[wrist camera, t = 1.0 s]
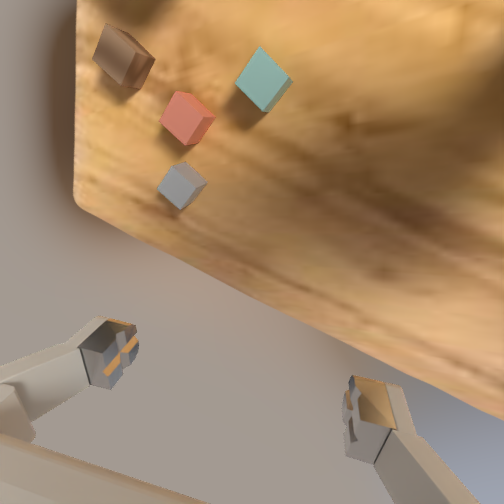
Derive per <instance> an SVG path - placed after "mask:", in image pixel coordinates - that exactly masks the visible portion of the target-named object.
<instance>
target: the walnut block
mask: <svg viewBox="0 0 504 504" xmlns="http://www.w3.org/2000/svg"><path fill="white" fill-rule="evenodd" d="M92 60H93V61H94V62H96V63H97V64H98V65H99V66H100V67H101V68H102V69H103V70H104V71H105V72H106V73H107V74H108V75H110V76H111V77H112V78H113V79H114V80H115V81H116V82H117V83H118V84H119V85H120V86H125V87H131V88H138V89H141V88H142V86H143V84H144V82H145V80H146V78H147V76H148V74H149V71H150V69H151V67H152V65H153V63H154V61H155V58H154V57H153V56H152V55H151V54H150V53H149V52H148V51H147V50H145V49H144V48H143V47H142V46H141V45H140V44H139V43H138V42H137V41H136V40H135V39H134V38H133V37H132V36H131V35H130V34H129V33H126V32H124V31H122V30H120V29H117V28H115V27H113V26H110V25H108V24H105V26H104V29H103V32H102V34H101V37H100V40H99V42H98V45H97V48H96V50H95V53H94V56H93V58H92Z"/></svg>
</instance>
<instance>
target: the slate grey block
mask: <svg viewBox="0 0 504 504" xmlns="http://www.w3.org/2000/svg"><path fill="white" fill-rule="evenodd" d="M207 183H208V182H207V181H206V180H205V179H204V178H203V177H202V176H201V175H200V174H199V173H198V172H196V171H195V170H194V169H193V168H192V167H191V166H190V165H189V164H188V163H187V162H183V163H180V164H177V165H174V166H171V168H170V170H169V171H168V173H167V174H166V176H165V177H164V179H163V180H162V182H161V183H160V185H159V186H158V188H157V190H158V191H159V192H160V193H162V194H163V195H164V196H165V197H166V198H167V199H168V200H169V201H171V202H172V203H173V204H174V205H175V206H176V207H177V208H178V209H180V210H181V209H183V208H184V207H186V206H187V205H189V204H190V203H192V202H193V201H194V200H195V198H196V197H197V196H198V194H199V193H200V192H201V190H202V189H203V188H204V187H205V185H206V184H207Z"/></svg>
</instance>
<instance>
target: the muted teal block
mask: <svg viewBox="0 0 504 504" xmlns="http://www.w3.org/2000/svg"><path fill="white" fill-rule="evenodd" d="M292 83H293V81H292V80H291V79H290V77H289V76H288V75H287V74H286V73H285V72H284V71H283V70H282V69H281V68H280V67H279V66H278V65H277V64H276V63H275V62H274V61H273V60H272V59H271V57H270V56H269V55H268V54H267V53H266V52H265V51H264V50H263V49H262V48H261V47H260V46H259V48H258V49H257V51H256V52H255V54H254V55H253V57H252V58H251V60H250V61H249V63H248V64H247V66H246V67H245V69H244V70H243V72H242V73H241V75H240V76H239V78H238V79H237V81H236V82H235V84H236V85H237V86H238V87H239V88H240V89H241V90H242V91H243V92H244V93H245V94H246V95H247V96H248V97H249V98H250V99H251V100H252V101H253V102H254V103H255V104H256V105H257V106H258V107H259V108H260V109H261V110H262V111H263V112H270V111H271V110H272V108H273V107H274V106H275V104H276V103H277V102H278V101H279V99H280V98H281V97H282V95H283V94H284V93H285V92H286V90H287V89H288V88H289V86H290V85H291V84H292Z"/></svg>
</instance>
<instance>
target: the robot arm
mask: <svg viewBox="0 0 504 504" xmlns="http://www.w3.org/2000/svg"><path fill="white" fill-rule="evenodd" d="M136 333H137V329H136V325H133V324H130V323H126V322H122V321H119V320H115V319H111V318H107V317H103V316H97V317H95V318H94V319H93V320H91V321H90V322H89V323H88V324H87V325H85V326H84V327H83V328H82V329H81V330H80V331H78V332H77V333H76V334H75V335H74V336H72V337H71V338H70V339H69V340H68V341H67V342H65V343H64V344H57V345H54V346H52V347H49V348H47V349H44V350H41V351H39V352H36V353H34V354H31V355H28V356H26V357H23V358H21V359H18V360H15V361H13V362H10V363H8V364H5V365H2V366H0V504H209V503H207V502H204V501H201V500H198V499H194V498H192V497H189V496H186V495H183V494H180V493H177V492H174V491H171V490H168V489H165V488H162V487H159V486H156V485H153V484H150V483H147V482H144V481H141V480H138V479H135V478H133V477H129V476H127V475H124V474H121V473H118V472H115V471H112V470H109V469H106V468H103V467H100V466H97V465H94V464H91V463H88V462H85V461H82V460H79V459H76V458H73V457H70V456H67V455H64V454H61V453H58V452H55V451H52V450H49V449H47V448H44V447H41V446H38V445H35V444H31V442H32V440H33V439H34V438H35V436H36V432H35V430H34V428H33V426H32V424H31V422H32V421H34V420H36V419H37V418H39V417H40V416H42V415H43V414H45V413H47V412H48V411H50V410H52V409H53V408H55V407H57V406H58V405H60V404H61V403H63V402H65V401H66V400H68V399H70V398H71V397H73V396H74V395H76V394H77V393H79V392H81V391H83V390H84V389H86V388H87V387H89V386H90V385H93V386H97V387H101V388H106V389H110V390H111V389H112V388H113V386H114V385H115V384H116V383H117V381H118V380H119V379H120V377H121V376H122V375H123V369H124V368H126V367H127V366H129V365H131V364H132V362H133V361H134V359H135V358H136V355H137V353H138V349H139V342H138V340H137V338H136V337H135V336H134V335H135V334H136ZM342 417H343V422H344V423H345V425H346V426H347V427H346V429H345V432H344V443H345V454H346V456H347V457H350V458H354V459H357V460H360V461H363V462H366V463H370V464H373V465H374V468H375V470H376V472H377V473H378V475H379V477H380V479H381V480H382V482H383V484H384V486H385V488H386V489H387V491H388V493H389V495H390V496H391V498H392V500H393V502H394V503H395V504H480V503H479V502H478V501H477V499H476V498H475V497H474V496H473V495H472V494H471V492H470V491H469V490H468V489H467V488H466V487H465V486H464V485H463V483H462V482H461V481H460V480H459V479H458V478H457V476H456V475H455V474H454V473H453V472H452V471H451V470H450V468H449V467H448V466H447V465H446V464H445V463H444V461H443V460H442V459H441V458H440V457H439V456H438V455H437V454H436V452H435V451H434V450H433V449H432V448H431V447H430V445H429V444H428V443H427V442H426V441H425V440H424V439H423V438H422V437H419V436H417V434H416V431H415V428H414V424H413V421H412V418H411V415H410V412H409V409H408V406H407V403H406V399H405V396H404V394H403V390H402V388H401V387H400V386H399V385H395V384H390V383H386V382H381V381H377V380H373V379H368V378H364V377H359V376H354V375H352V376H351V377H350V380H349V390H347V391H345V394H344V398H343V404H342Z"/></svg>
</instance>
